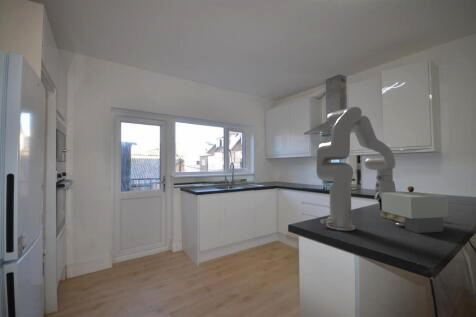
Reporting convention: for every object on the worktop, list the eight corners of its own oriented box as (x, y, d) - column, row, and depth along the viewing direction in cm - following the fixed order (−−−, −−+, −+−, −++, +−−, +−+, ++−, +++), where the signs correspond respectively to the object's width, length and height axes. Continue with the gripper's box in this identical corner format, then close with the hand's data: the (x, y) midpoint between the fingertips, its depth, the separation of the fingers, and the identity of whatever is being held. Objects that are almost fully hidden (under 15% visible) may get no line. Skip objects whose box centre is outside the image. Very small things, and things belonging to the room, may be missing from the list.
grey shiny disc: (400, 224, 110) (400, 222, 110) (410, 226, 105) (410, 225, 105) (393, 224, 109) (393, 222, 109) (403, 226, 104) (403, 224, 104)
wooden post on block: (380, 216, 124) (380, 196, 124) (385, 216, 124) (384, 196, 125) (407, 224, 108) (406, 200, 108) (412, 223, 108) (411, 200, 109)
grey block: (411, 233, 95) (411, 197, 95) (381, 223, 111) (380, 192, 111) (448, 231, 98) (447, 196, 98) (413, 221, 114) (413, 191, 115)
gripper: (377, 179, 118) (378, 212, 117) (402, 178, 121) (403, 211, 120) (367, 178, 125) (367, 209, 125) (391, 178, 128) (391, 208, 128)
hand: (385, 210), depth 122 cm, fingers closed on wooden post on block, 3 cm apart
